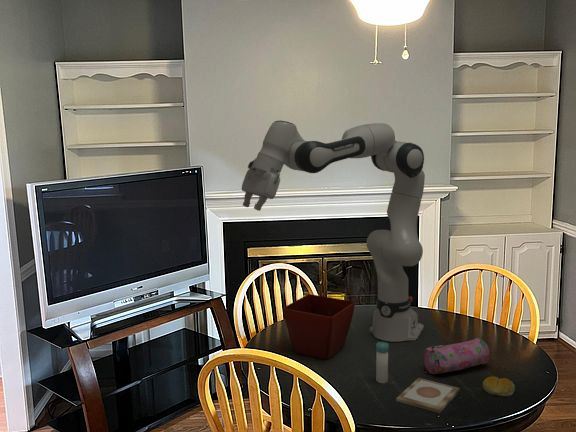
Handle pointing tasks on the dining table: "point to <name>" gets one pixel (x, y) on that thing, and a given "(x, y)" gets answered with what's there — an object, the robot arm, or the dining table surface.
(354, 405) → the dining table surface
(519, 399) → the dining table surface
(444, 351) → the pencil case
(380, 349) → the marker
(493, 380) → the bread roll
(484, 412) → the dining table surface
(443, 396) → the picture frame
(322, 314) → the plant pot
